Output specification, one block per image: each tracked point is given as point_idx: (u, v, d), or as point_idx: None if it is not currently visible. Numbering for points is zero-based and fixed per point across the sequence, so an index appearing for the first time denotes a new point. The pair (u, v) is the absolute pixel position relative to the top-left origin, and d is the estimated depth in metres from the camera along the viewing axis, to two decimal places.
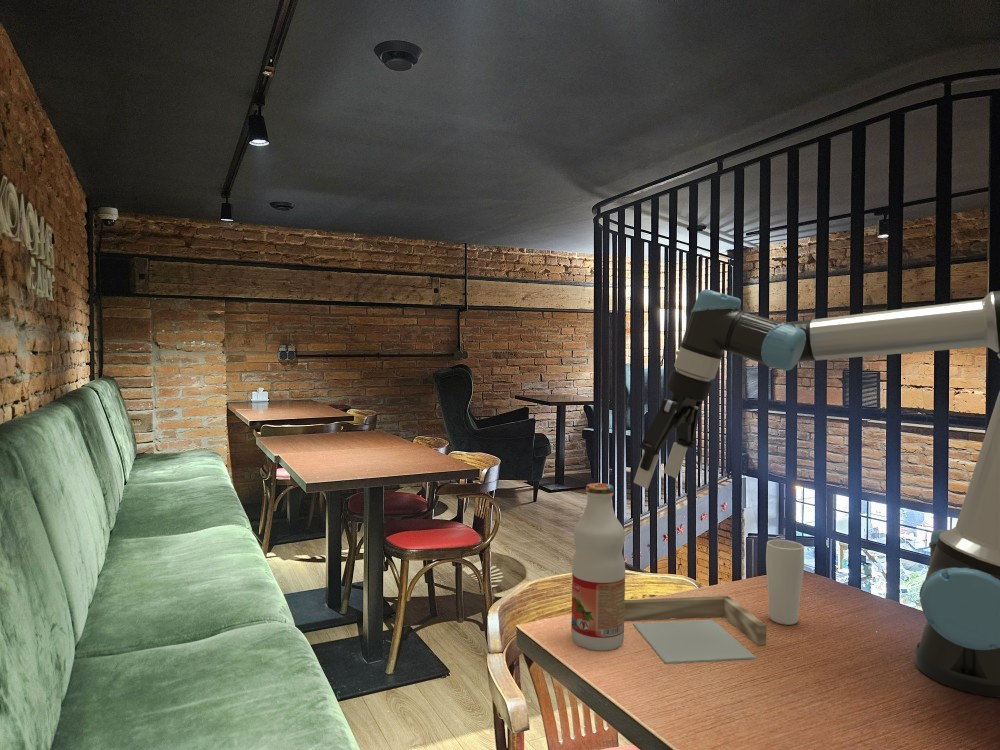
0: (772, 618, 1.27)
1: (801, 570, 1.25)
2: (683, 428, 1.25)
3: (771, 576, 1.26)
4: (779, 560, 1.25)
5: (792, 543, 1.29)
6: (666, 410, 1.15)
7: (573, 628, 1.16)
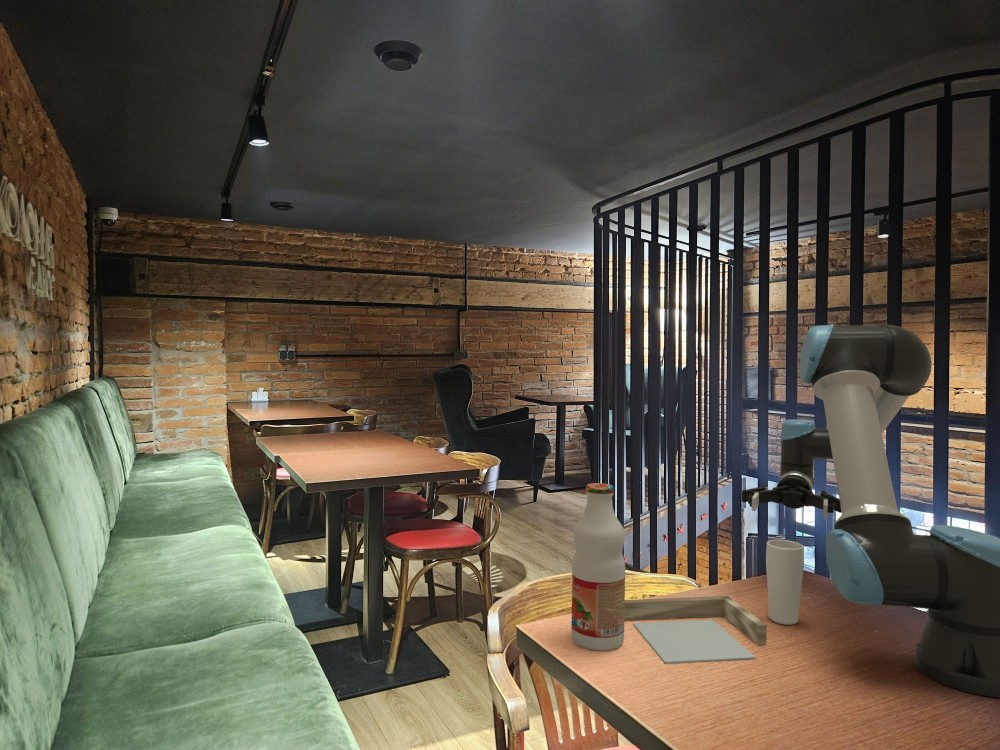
0: (772, 618, 1.27)
1: (801, 570, 1.25)
2: (813, 499, 1.43)
3: (771, 576, 1.26)
4: (779, 560, 1.25)
5: (792, 543, 1.29)
6: None
7: (573, 628, 1.16)
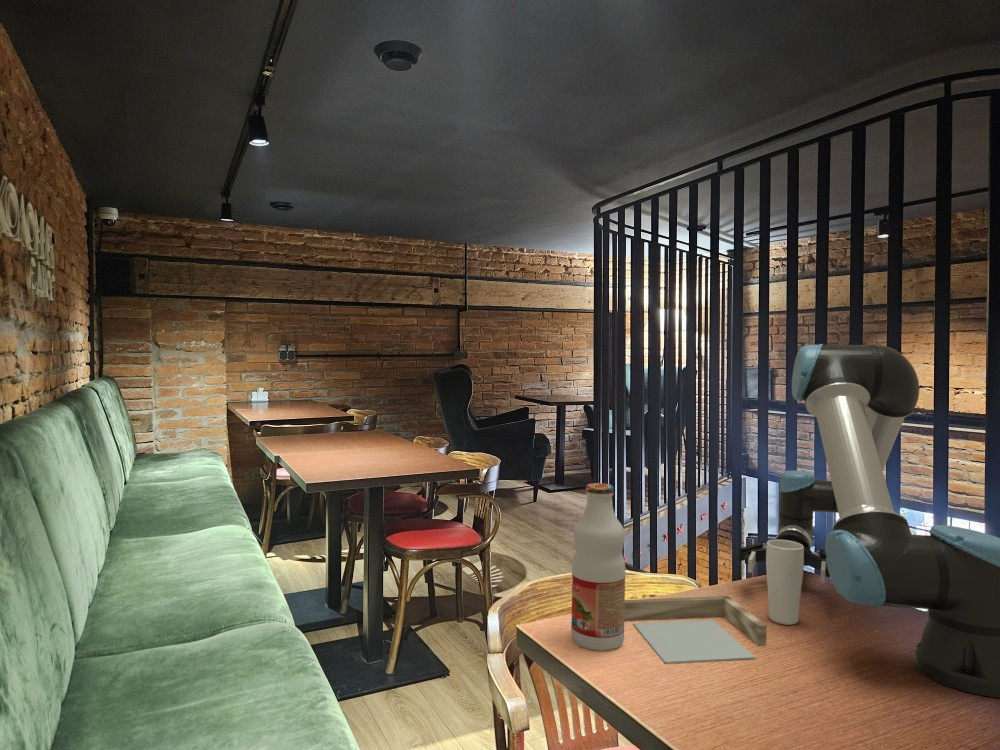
0: (772, 618, 1.27)
1: (801, 570, 1.25)
2: (811, 559, 1.40)
3: (771, 576, 1.26)
4: (779, 560, 1.25)
5: (792, 543, 1.29)
6: None
7: (573, 628, 1.16)
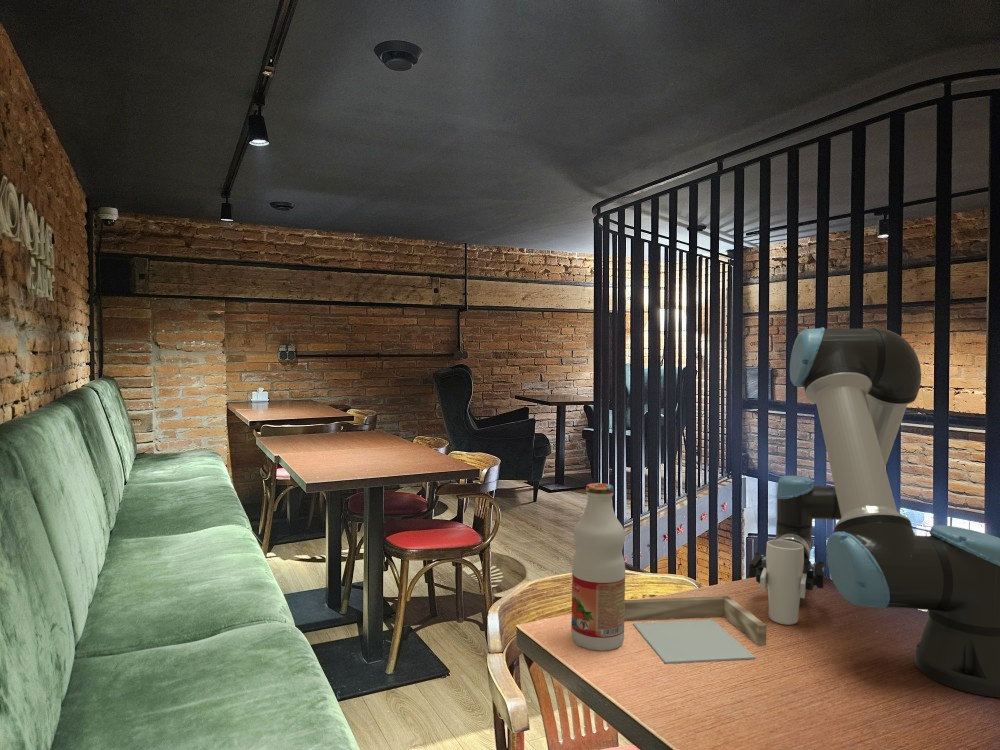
0: (772, 618, 1.27)
1: (801, 570, 1.25)
2: None
3: (771, 576, 1.26)
4: (779, 560, 1.25)
5: (792, 543, 1.29)
6: None
7: (573, 628, 1.16)
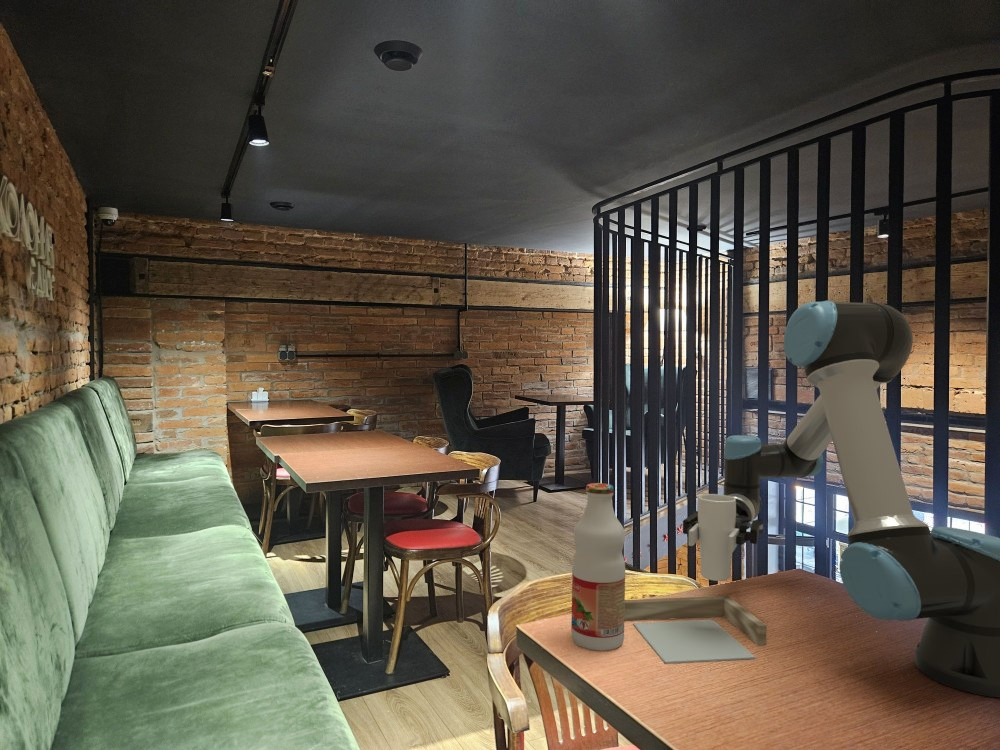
0: (703, 574, 1.22)
1: (732, 524, 1.20)
2: (735, 528, 1.27)
3: (701, 530, 1.21)
4: (709, 513, 1.20)
5: (725, 498, 1.24)
6: None
7: (573, 628, 1.16)
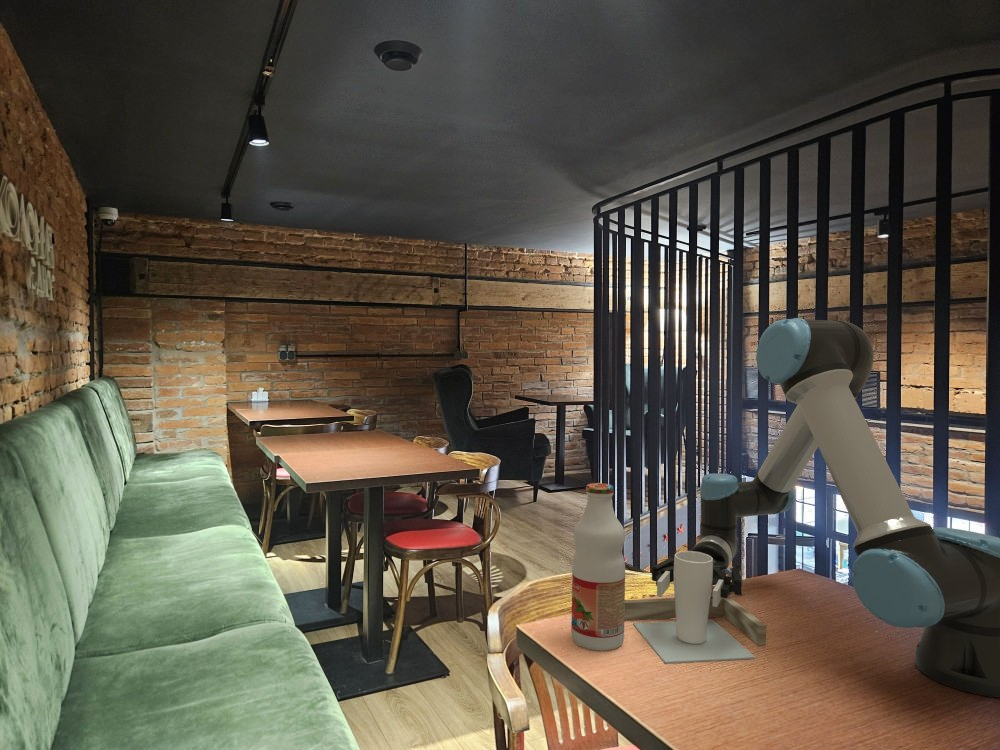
0: (678, 636, 1.17)
1: (709, 585, 1.15)
2: (716, 577, 1.22)
3: (677, 591, 1.17)
4: (685, 574, 1.15)
5: (702, 555, 1.19)
6: None
7: (573, 628, 1.16)
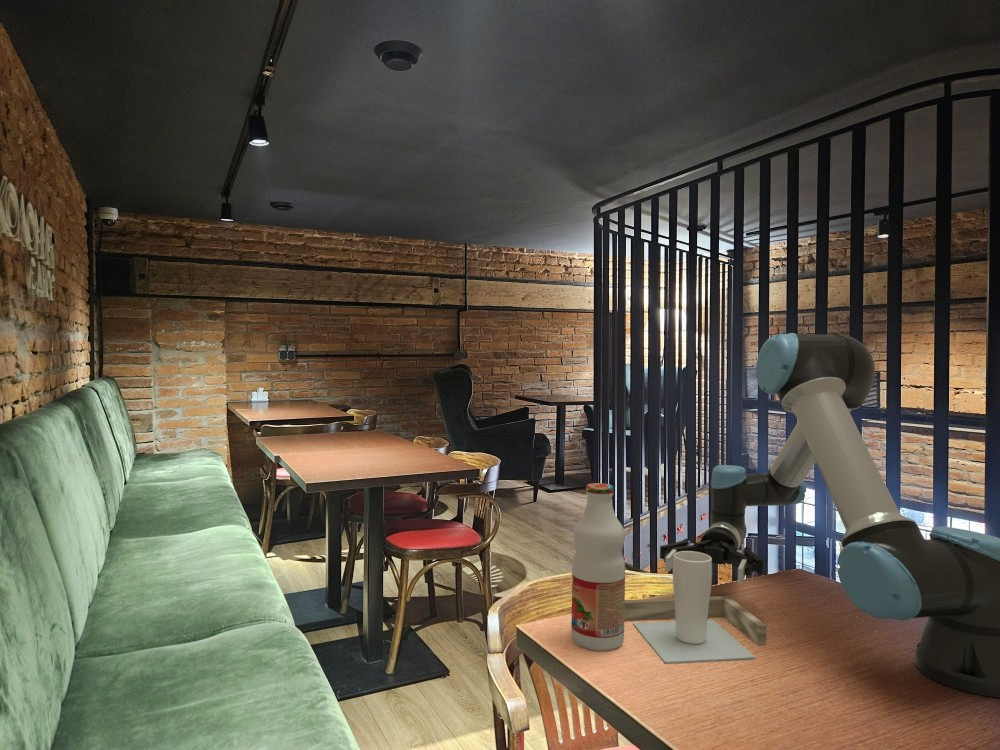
0: (678, 636, 1.17)
1: (708, 585, 1.15)
2: (734, 558, 1.33)
3: (677, 591, 1.17)
4: (684, 574, 1.15)
5: (701, 555, 1.20)
6: None
7: (573, 628, 1.16)
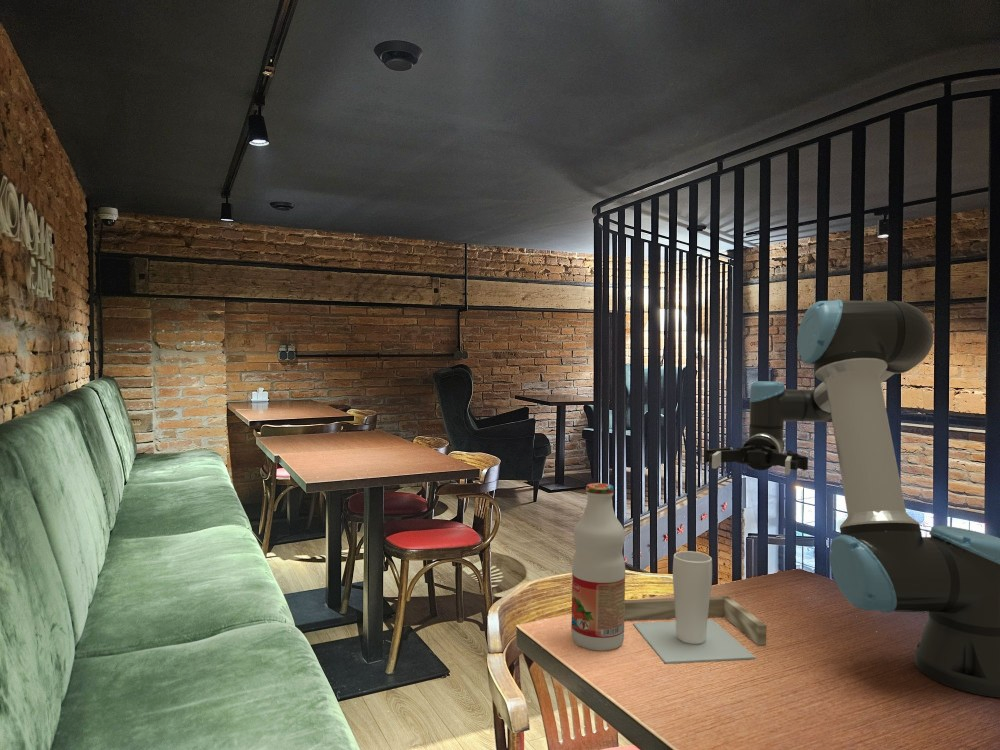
0: (678, 636, 1.17)
1: (708, 585, 1.15)
2: (777, 458, 1.37)
3: (677, 591, 1.17)
4: (684, 574, 1.15)
5: (701, 555, 1.20)
6: None
7: (573, 628, 1.16)
